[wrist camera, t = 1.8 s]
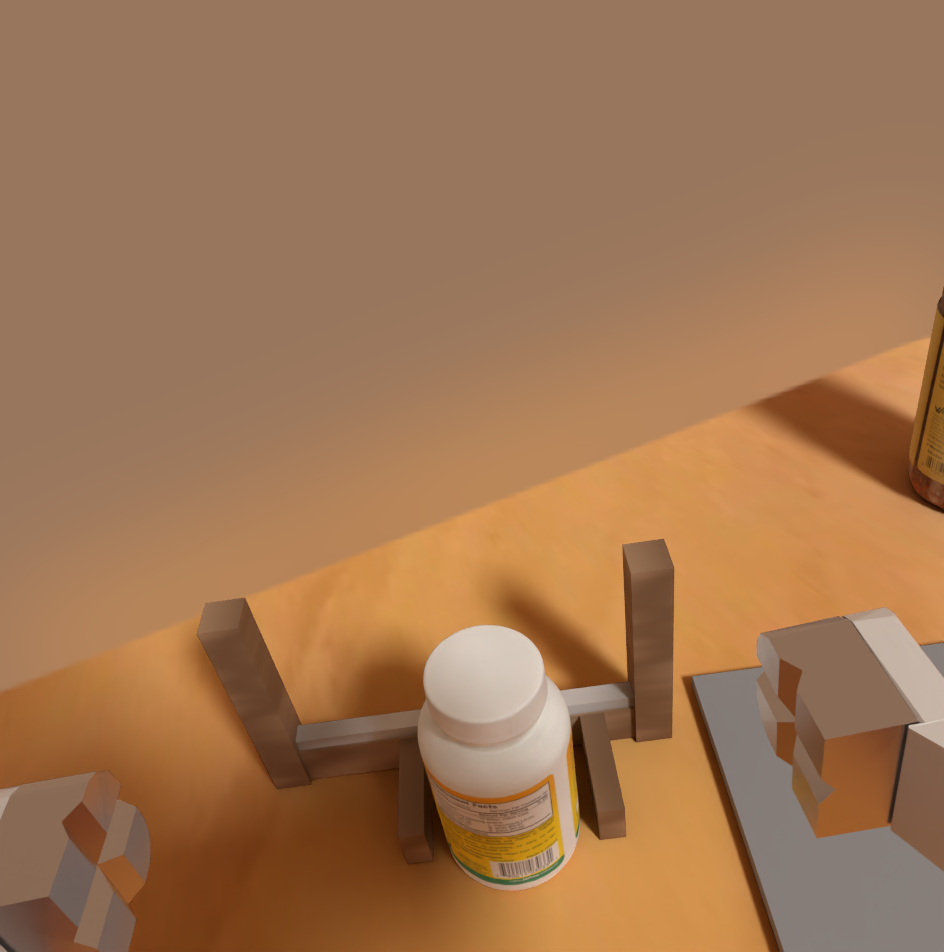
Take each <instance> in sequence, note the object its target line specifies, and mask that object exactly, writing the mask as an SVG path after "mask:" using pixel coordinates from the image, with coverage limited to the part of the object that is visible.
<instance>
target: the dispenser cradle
mask: <svg viewBox="0 0 944 952" xmlns="http://www.w3.org/2000/svg"><path fill="white" fill-rule="evenodd" d="M622 546H623V571H624V596H625V621H626V646H627V671H628V682H621V683H614V684H606V685H599V686H591V687H584V688H576V689H569V690H561V691H560V692H561V693H562V695H563V697H564V699H565V702H566V705H567V707H568V711H569V716H570V722H571V728H572V741H573V745H579V744H583V750H584V755H585V760H586V766H587V771H588V777H589V782H590V787H591V793H592V798H593V804H594V809H595V814H596V820H597V825H598V831H599V836H600V840H603V839H611V838H619V837H626V823H625V807H624V803H623V798H622V794H621V789H620V784H619V780H618V775H617V771H616V766H615V761H614V757H613V752H612V748H611V743H610V740H617V739H625V738H633V737H635V738H636V742H642V741H650V740H658V739H665V738H672V701H673V622H674V566H673V563H672V560H671V557H670V555H669V552H668V549H667V546H666V543H665V541H664V539H659V540H652V541H645V542H638V543H631V544H623V545H622ZM197 636H198V637H199V639H200V641H201V643H202V645H203V647H204V649H205V651H206V653H207V655H208V657H209V659H210V661H211V663H212V665H213V666H214V668H215V670H216V672H217V674H218V676H219V678H220V680H221V682H222V684H223V686H224V688H225V690H226V692H227V694H228V695H229V697H230V699H231V701H232V703H233V705H234V707H235V709H236V711H237V713H238V715H239V717H240V719H241V721H242V723H243V724H244V726H245V728H246V730H247V732H248V734H249V736H250V738H251V740H252V742H253V744H254V746H255V748H256V750H257V752H258V753H259V755H260V757H261V759H262V761H263V763H264V765H265V767H266V769H267V771H268V773H269V775H270V777H271V779H272V780H273V782H274V784H275V786H276V788H277V789H281V788H288V787H296V786H304V785H311V781H312V779H318V778H326V777H333V776H341V775H349V774H356V773H364V772H372V771H379V770H387V769H395V768H399V796H398V840H399V842H400V845H401V847H402V850H403V853H404V855H405V858H406V861H407V863H408V864H411V863H419V862H427V861H433V816H432V789H431V786H430V783H429V779H428V776H427V773H426V770H425V766H424V763H423V760H422V756H421V753H420V748H419V744H418V721H419V716H420V712H421V709H419V710H411V711H404V712H396V713H389V714H381V715H374V716H366V717H359V718H351V719H344V720H336V721H329V722H321V723H314V724H306V725H301V722H300V720H299V718H298V716H297V713H296V711H295V709H294V707H293V704H292V702H291V700H290V698H289V695H288V693H287V691H286V689H285V686H284V684H283V682H282V680H281V677H280V675H279V673H278V671H277V669H276V666H275V664H274V662H273V660H272V657H271V655H270V653H269V651H268V648H267V646H266V644H265V642H264V639H263V637H262V635H261V633H260V630H259V628H258V626H257V624H256V621H255V619H254V617H253V615H252V612H251V610H250V608H249V606H248V603H247V601H246V599H245V598H240V599H233V600H225V601H218V602H211V603H205V607H204V610H203V614H202V617H201V621H200V624H199V628H198V631H197Z"/></svg>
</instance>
